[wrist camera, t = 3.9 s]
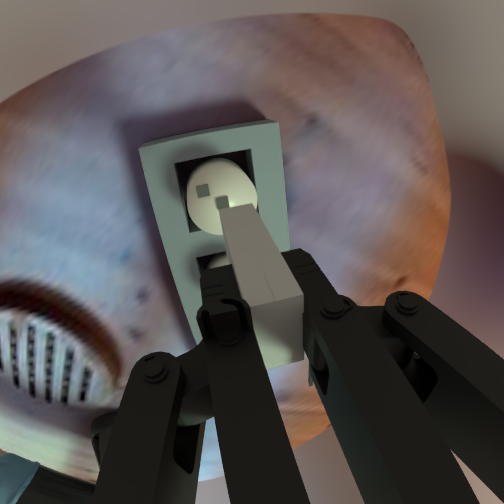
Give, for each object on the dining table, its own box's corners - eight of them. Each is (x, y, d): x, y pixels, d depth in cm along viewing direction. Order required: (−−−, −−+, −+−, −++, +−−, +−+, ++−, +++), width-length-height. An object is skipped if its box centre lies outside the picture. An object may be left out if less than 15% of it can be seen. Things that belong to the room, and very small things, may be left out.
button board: (206, 357, 30) (208, 375, 28) (143, 143, 19) (138, 148, 17) (288, 338, 31) (295, 354, 29) (268, 119, 20) (278, 122, 18)
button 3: (193, 221, 21) (195, 242, 18) (181, 164, 19) (180, 177, 16) (250, 209, 22) (261, 228, 19) (242, 152, 20) (253, 163, 17)
